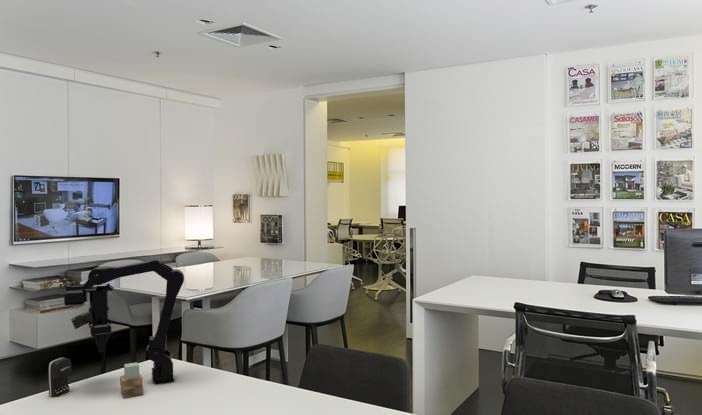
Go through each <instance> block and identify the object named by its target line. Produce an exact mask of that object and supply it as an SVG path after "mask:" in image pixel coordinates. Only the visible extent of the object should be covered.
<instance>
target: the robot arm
mask: <svg viewBox="0 0 702 415" xmlns="http://www.w3.org/2000/svg"><path fill="white" fill-rule="evenodd" d="M151 272H154V273H155V274H157V275H159V277H161V278H162V279H164V280H165V281H166V285H165V288H166V289H165V298H164V301H163V306H162V309H161V313H160V317H159V322H158V325H157V328H156V331H155V334H154V336H151V335H150V336H149V340H148V345H147V346H146V352H147V357H148V360H150V361H152V362H153V366H152V367H151V380H152V382H153V383H154V384H155V385H158V384H164V383H165V384H166V383H170V382H175V378H174V362H173V360H172V357H173V356H172V355H173V353H172V352H171V351H169V350H168V349H167V339H168V338H167V337H168V336H167V334H168V330H169V328H170V323H171V318H172V316H173V311H174V307H175V304H176V303H175V302H176V300H177V297H178V295H179V293H180V290H181V288H182V286H183V284H184V281H185V275H184V272H183V271H182V270H180V269H178V268H177V269H176V268H175V269H174V268H172V267H170V266H169V265H167V264H165V263H163V262H162V261H161V260H159V259H157V258H153V259H151V260H147V261H139V262H136V263H135V262H134V263H129V264H125V265H124V264H123V265H120V266H110V265H109V266H96V267H95V268H93V269H91V270H90V271H89V273H88V275H87V280H86V281H85V282H84V283H83V285H66V287H65V293H64V296H63V303H64V306H65V307H74V306H77V307H78V306H84V305H85V304H86V303H88V302H89V307H88V311H86V312H83V313H81V314H79V315H76V316H74V317H72V318H71V319H70V321H71V323H72V325H73V327H74V329H75V330H78V329H79V328H80V327H83V326H84V325H87V324H88V328H89V332H90V336H91V337H93V338H94V339H95V341H96V342H95V343H96V345H97V349H98V353H99V354H102V353H104V350H105V347H106V345H107V343H108V341H109V339H110V335H112V334H111V333H112V324H111V323H110V318H109V310H110V307H109V292H110V291H111V292H112V291H113V290H114V289H115V287H114V286H112V285H111V283H110V282H112V281H113V280H116V279H119V278H124V277H130V276H134V275H140V274H145V273H151ZM106 283H107V284H106ZM103 284H106V285H103ZM94 286H96V287H95V288H93V287H94Z"/></svg>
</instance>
